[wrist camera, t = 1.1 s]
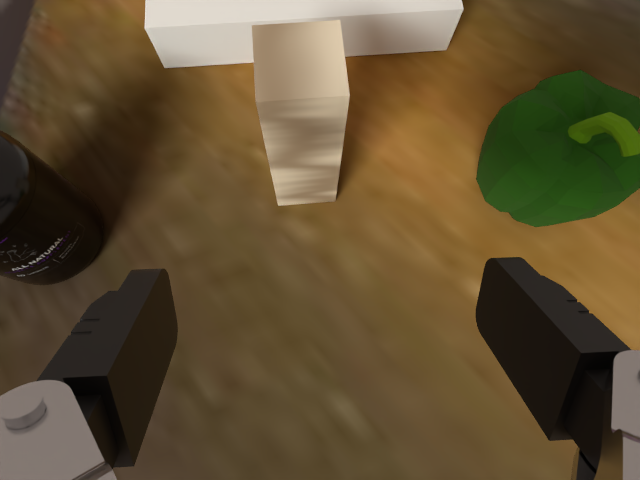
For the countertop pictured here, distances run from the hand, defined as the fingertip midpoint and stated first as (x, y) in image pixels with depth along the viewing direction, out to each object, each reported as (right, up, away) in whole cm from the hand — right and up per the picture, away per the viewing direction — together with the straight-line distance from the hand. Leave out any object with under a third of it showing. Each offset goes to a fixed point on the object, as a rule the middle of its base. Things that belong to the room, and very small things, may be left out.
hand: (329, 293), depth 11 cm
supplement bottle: (-18, +2, +18) cm, 25 cm away
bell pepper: (+14, +5, +19) cm, 24 cm away
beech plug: (-1, +6, +19) cm, 20 cm away
